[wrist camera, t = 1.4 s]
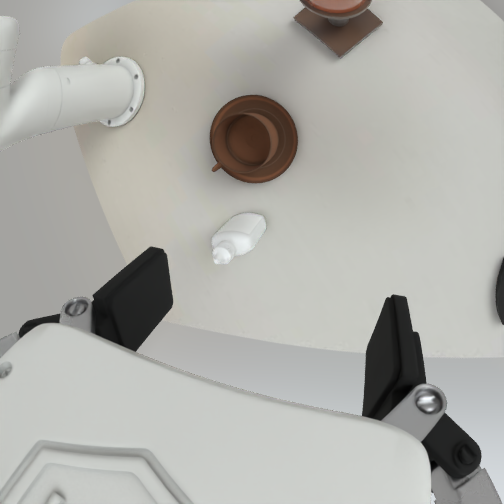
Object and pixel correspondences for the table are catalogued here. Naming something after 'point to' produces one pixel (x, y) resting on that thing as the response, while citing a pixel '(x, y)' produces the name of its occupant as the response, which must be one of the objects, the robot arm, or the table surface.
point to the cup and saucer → (253, 139)
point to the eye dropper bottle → (237, 236)
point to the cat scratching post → (339, 26)
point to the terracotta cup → (336, 5)
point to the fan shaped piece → (500, 293)
